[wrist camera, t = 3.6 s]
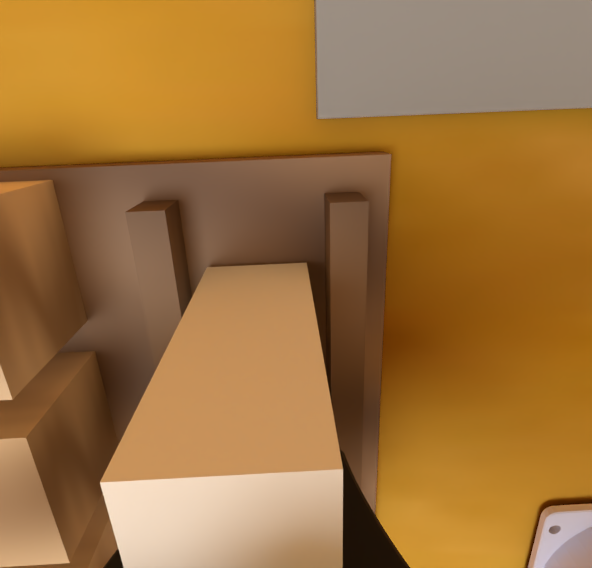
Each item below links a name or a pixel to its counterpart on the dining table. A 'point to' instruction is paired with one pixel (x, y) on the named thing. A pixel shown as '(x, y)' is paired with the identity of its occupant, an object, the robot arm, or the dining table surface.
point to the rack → (230, 264)
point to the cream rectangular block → (234, 435)
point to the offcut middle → (53, 460)
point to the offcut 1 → (34, 283)
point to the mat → (451, 56)
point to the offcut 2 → (91, 543)
